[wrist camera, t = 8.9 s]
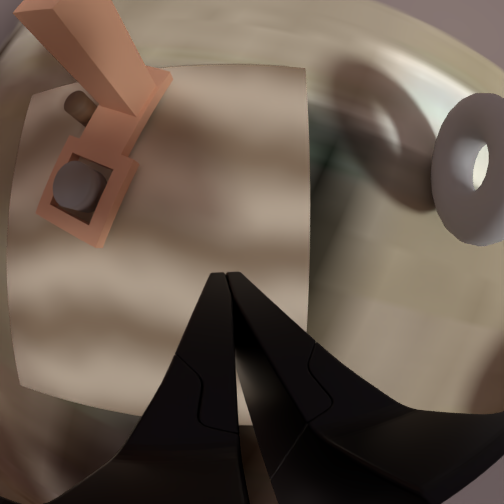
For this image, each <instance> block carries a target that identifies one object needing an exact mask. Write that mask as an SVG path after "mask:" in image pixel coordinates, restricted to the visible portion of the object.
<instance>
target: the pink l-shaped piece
mask: <svg viewBox="0 0 504 504" xmlns="http://www.w3.org/2000/svg"><path fill="white" fill-rule="evenodd" d="M13 14H14V15H15V16H16V17H17V18H18V19H19V20H20V21H21V23H22V24H23V25H24V26H25V27H26V28H27V29H28V30H29V31H30V32H31V33H32V34H33V35H34V36H35V37H36V38H37V39H38V40H39V42H40V43H41V44H42V45H43V46H44V47H45V48H46V49H47V50H48V51H49V52H50V53H51V54H52V55H53V56H54V57H55V58H56V59H57V60H58V62H59V63H60V64H61V65H62V66H63V67H64V68H65V69H66V70H67V71H68V72H69V73H70V74H71V75H72V76H73V77H74V78H75V79H76V80H77V81H78V82H79V84H80V85H81V86H82V87H83V88H84V89H85V90H86V91H87V92H88V93H89V94H90V95H91V96H92V97H93V98H94V99H95V100H96V101H97V102H98V103H99V105H98V107H97V108H96V110H95V112H94V113H93V115H92V117H91V119H90V120H89V122H88V124H87V126H86V128H85V129H84V131H83V133H82V135H81V137H80V139H79V138H76V137H74V136H71V135H69V137H68V139H67V141H66V143H65V145H64V147H63V149H62V151H61V153H60V155H59V157H58V159H57V161H56V164H55V166H54V168H53V170H52V172H51V175H50V177H49V179H48V182H47V184H46V186H45V189H44V191H43V194H42V196H41V199H40V201H39V204H38V207H37V209H36V212H35V214H37V215H39V216H40V217H42V218H44V219H45V220H47V221H49V222H51V223H52V224H54V225H56V226H57V227H59V228H61V229H63V230H64V231H66V232H68V233H70V234H71V235H73V236H75V237H77V238H78V239H80V240H82V241H84V242H86V243H87V244H89V245H91V246H93V247H95V248H103V246H104V244H105V241H106V238H107V236H108V233H109V231H110V229H111V226H112V224H113V221H114V219H115V217H116V214H117V212H118V210H119V207H120V205H121V203H122V201H123V198H124V196H125V194H126V192H127V190H128V188H129V185H130V183H131V181H132V179H133V177H134V175H135V173H136V171H137V169H138V167H139V165H140V164H139V163H138V162H136V161H135V160H134V159H131V158H129V157H128V156H129V154H130V152H131V151H132V149H133V147H134V145H135V143H136V141H137V139H138V137H139V136H140V134H141V132H142V130H143V128H144V127H145V125H146V123H147V121H148V120H149V118H150V116H151V114H152V113H153V111H154V109H155V108H156V106H157V104H158V103H159V101H160V100H161V98H162V96H163V95H164V93H165V92H166V90H167V88H168V87H169V85H170V84H171V82H172V81H173V77H172V75H171V73H170V72H169V71H166V70H162V69H158V68H153V67H149V66H145V64H144V62H143V60H142V58H141V56H140V55H139V53H138V51H137V49H136V47H135V45H134V43H133V41H132V39H131V37H130V35H129V33H128V31H127V30H126V28H125V26H124V24H123V22H122V20H121V18H120V16H119V14H118V12H117V10H116V8H115V6H114V4H113V2H112V0H23V2H22V3H21V4H20V5H19V6H18V7H17V9H16V10H15V11H14V12H13ZM79 157H81V158H84V159H86V160H88V161H91V162H93V163H96V164H98V165H100V166H103V167H105V168H108V169H110V170H112V171H113V172H112V174H111V176H110V178H109V180H108V182H107V184H106V187H105V189H104V191H103V193H102V195H101V198H100V200H99V202H98V205H97V207H96V209H95V212H94V214H93V217H92V219H91V221H90V223H88V222H86V221H84V220H82V219H80V218H78V217H77V216H75V215H73V214H71V213H69V212H67V211H65V210H64V209H62V208H60V207H58V205H59V204H58V203H57V202H56V200H55V198H54V195H53V182H54V179H55V176H56V174H57V172H58V171H59V170H60V168H61V167H62V166H63V165H65V164H66V163H68V162H70V161H78V159H79Z"/></svg>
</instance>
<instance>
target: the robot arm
mask: <svg viewBox="0 0 504 504" xmlns="http://www.w3.org/2000/svg"><path fill="white" fill-rule="evenodd" d="M315 342H316V341H315V340H314V339H313V338H312V337H311V336H310V335H309V334H308V333H306V332H305V331H304V330H303V329H302V328H301V327H300V326H299V325H298V324H297V323H295V322H294V321H293V320H292V319H291V318H290V317H289V316H288V315H287V314H286V313H285V312H283V311H282V310H281V309H280V308H279V307H278V306H277V305H276V304H275V303H274V302H273V301H271V300H270V299H269V298H268V297H267V296H266V295H265V294H264V293H263V292H262V291H261V290H260V289H258V288H257V287H256V286H255V285H254V284H253V283H252V282H251V281H250V280H249V279H248V278H247V277H246V276H244V275H243V274H242V273H241V272H239V271H237V272H227V273H226V274H225V273H224V272H212V273H210V275H209V277H208V279H207V281H206V283H205V286H204V288H203V290H202V292H201V295H200V297H199V299H198V301H197V303H196V306H195V308H194V310H193V313H192V315H191V317H190V319H189V322H188V324H187V326H186V328H185V331H184V333H183V335H182V338H181V340H180V342H179V345H178V347H177V349H176V352H175V355H174V356H173V358H172V361H171V363H170V365H169V367H168V370H167V372H166V374H165V376H164V378H163V380H162V382H161V384H160V386H159V388H158V389H157V391H156V393H155V395H154V396H153V398H152V400H151V402H150V403H149V405H148V406H147V408H146V410H145V411H144V413H143V415H142V416H141V418H140V419H139V421H138V423H137V424H136V426H135V428H134V429H133V431H132V433H131V434H130V436H129V437H128V439H127V440H126V442H125V444H124V445H123V446H122V448H121V449H120V450H119V451H118V453H117V454H116V455H115V456H114V457H113V458H112V459H111V460H109V461H108V462H107V463H106V464H104V465H103V466H102V467H100V468H99V469H97V470H96V471H95V472H93V473H92V474H91V475H89V476H88V477H86V478H85V479H83V480H82V481H81V482H79V483H78V484H76V485H75V486H73V487H72V488H71V489H69V490H68V491H66V492H65V493H63V494H62V495H60V496H59V497H57V498H56V499H54V500H52V501H50V502H48V503H44V504H250V502H249V497H248V492H247V487H246V482H245V476H244V471H243V465H242V459H241V450H240V437H239V420H238V402H237V382H236V370H237V374H238V377H239V381H240V384H241V388H242V391H243V395H244V398H245V401H246V405H247V408H248V411H249V415H250V418H251V421H252V424H253V428H254V431H255V434H256V437H257V440H258V444H259V447H260V450H261V453H262V456H263V459H264V462H265V465H266V468H267V471H268V474H269V477H270V479H271V483H272V486H273V489H274V492H275V495H276V498H277V501H278V503H279V504H504V411H503V412H500V413H495V414H463V413H448V412H435V411H425V410H417V409H413V408H410V407H407V406H404V405H402V404H400V403H398V402H397V401H395V400H393V399H392V398H390V397H389V396H387V395H386V394H384V393H383V392H381V391H380V390H379V389H377V388H376V387H374V386H373V385H371V384H370V383H368V382H367V381H366V380H364V379H363V378H361V377H360V376H358V375H357V374H356V373H354V372H353V371H352V370H350V369H349V368H348V367H346V366H345V365H344V364H342V363H341V362H340V361H339V360H337V359H336V358H335V357H334V356H333V355H331V354H330V353H329V352H328V351H327V350H326V349H324V348H323V347H322V346H321V345H320V344H319V343H318V342H316V343H315ZM0 504H20V503H17V502H14V501H12V500H9V499H6V498H4V497H1V496H0Z"/></svg>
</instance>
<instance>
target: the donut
mask: <svg viewBox="0 0 504 504" xmlns="http://www.w3.org/2000/svg"><path fill="white" fill-rule="evenodd" d="M486 144H487V147H488V151H489V164H488V168H487V173H486V176H485V178H484V180H483V182H482V184H481V186H480V187H479V188H478V189H477V190H476V191H475V189H474V186H473V169H474V164H475V160H476V158H477V155H478V153H479V151H480V150H481V148H482V147H483V146H484V145H486ZM431 186H432V195H433V199H434V203H435V207H436V210H437V213H438V215H439V217H440V219H441V220H442V222H443V224H444V226H445V227H446V229H447V230H448V231H449V232H450V233H452V234H453V235H454V236H455V237H456V238H457V239H459V240H460V241H462V242H464V243H467V244H472V245H476V246H487V245H491V244H494V243H497V242H500V241H502V240H504V98H502V97H501V96H499V95H496V94H491V93H475V94H473V95H470V96H468V97H466V98H464V99H462V100H461V101H460V102H458V104H457V105H456V106H455V107H454V108H453V109H452V110H451V111H450V112H449V113H448V115H447V117H446V118H445V120H444V122H443V124H442V125H441V128H440V131H439V133H438V136H437V139H436V142H435V147H434V152H433V156H432V166H431Z"/></svg>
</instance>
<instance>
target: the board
mask: <svg viewBox="0 0 504 504" xmlns="http://www.w3.org/2000/svg"><path fill="white" fill-rule="evenodd" d="M158 69H162V70H166V71H169V72H170V73H171V75H172V77H173V81H172V82H171V84H170V85H169V87H168V88H167V90H166V92H165V93H164V95H163V96H162V98H161V100H160V101H159V103H158V104H157V106H156V108H155V109H154V111H153V113H152V114H151V116H150V118H149V120H148V121H147V123H146V125H145V127H144V128H143V130H142V132H141V134H140V136H139V137H138V139H137V141H136V143H135V145H134V147H133V149H132V151H131V152H130V154H129V156H128V157H129V158H131V159H134V160H135V161H136V162H138V163H139V164H140V165H139V167H138V169H137V171H136V173H135V175H134V177H133V179H132V181H131V183H130V185H129V188H128V190H127V192H126V194H125V196H124V198H123V201H122V203H121V205H120V207H119V210H118V212H117V214H116V217H115V219H114V221H113V224H112V226H111V229H110V231H109V233H108V236H107V238H106V241H105V244H104V246H103V248H95V247H93V246H91V245H89V244H87V243H86V242H84V241H82V240H80V239H78V238H77V237H75V236H73V235H71V234H70V233H68V232H66V231H64V230H63V229H61V228H59V227H57V226H56V225H54V224H52V223H51V222H49V221H47V220H45V219H44V218H42V217H40V216H39V215H37V214H35V212H36V209H37V207H38V204H39V201H40V199H41V196H42V194H43V191H44V189H45V186H46V184H47V182H48V179H49V177H50V175H51V172H52V170H53V168H54V166H55V164H56V161H57V159H58V157H59V155H60V153H61V151H62V149H63V147H64V145H65V143H66V141H67V139H68V137H69V135H71V136H74V137H76V138H79V139H80V137H81V135H82V133H83V131H84V129H85V128H86V126H87V124H88V122H89V120H90V119H91V117H92V115H93V113H94V112H95V110H96V108H97V107H98V105H99V103H98V102H97V101H96V100H95V99H94V98H93V97H92V96H91V95H90V94H89V93H88V92H87V91H86V90H85V89H84V88H83V87H82V86H81V85H80V84H79V82H76V83H72V84H68V85H64V86H60V87H57V88H53V89H50V90H46V91H43V92H40V93H36V94H33V95H32V97H31V101H30V104H29V107H28V111H27V114H26V118H25V122H24V126H23V130H22V134H21V138H20V143H19V148H18V153H17V158H16V163H15V169H14V175H13V182H12V189H11V197H10V207H9V218H8V233H7V291H8V306H9V318H10V327H11V335H12V342H13V349H14V355H15V361H16V366H17V371H18V376H19V381H20V385H21V386H24V387H27V388H29V389H32V390H35V391H38V392H41V393H45V394H48V395H51V396H54V397H58V398H61V399H65V400H68V401H72V402H76V403H80V404H84V405H88V406H92V407H97V408H101V409H106V410H111V411H116V412H121V413H126V414H132V415H138V416H142V415H143V413H144V411H145V410H146V408H147V406H148V405H149V403H150V402H151V400H152V398H153V396H154V395H155V393H156V391H157V389H158V388H159V386H160V384H161V382H162V380H163V378H164V376H165V374H166V372H167V370H168V367H169V365H170V363H171V361H172V358H173V356H174V355H175V352H176V349H177V347H178V345H179V342H180V340H181V338H182V335H183V333H184V331H185V328H186V326H187V324H188V322H189V319H190V317H191V315H192V313H193V310H194V308H195V306H196V303H197V301H198V299H199V297H200V295H201V292H202V290H203V288H204V286H205V283H206V281H207V279H208V277H209V275H210V273H212V272H224V273H225V274H226V273H227V272H237V271H239V272H241V273H242V274H243V275H244V276H246V277H247V278H248V279H249V280H250V281H251V282H252V283H253V284H254V285H255V286H256V287H257V288H258V289H260V290H261V291H262V292H263V293H264V294H265V295H266V296H267V297H268V298H269V299H270V300H271V301H273V302H274V303H275V304H276V305H277V306H278V307H279V308H280V309H281V310H282V311H283V312H285V313H286V314H287V315H288V316H289V317H290V318H291V319H292V320H293V321H294V322H295V323H297V324H298V325H299V326H300V327H301V328H302V329H303V330H304V331H305V332H306V330H307V311H308V288H309V255H310V159H309V127H308V105H307V87H306V71H305V68H297V67H285V66H270V65H237V64H227V65H194V66H179V67H167V68H158ZM112 172H113V171H112V170H110V169H108V168H105V167H103V166H100V165H98V164H96V163H93V162H91V161H88V160H86V159H84V158H81V157H79V159H78V161H70V162H68V163H66V164H65V165H63V166H62V167H61V168H60V170H59V171H58V172H57V174H56V176H55V179H54V182H53V195H54V198H55V200H56V202H57V203H58V204H59V205H58V207H60V208H62V209H64V210H65V211H67V212H69V213H71V214H73V215H75V216H77V217H78V218H80V219H82V220H84V221H86V222H88V223H90V221H91V219H92V217H93V214H94V212H95V209H96V207H97V205H98V202H99V200H100V198H101V195H102V193H103V191H104V189H105V187H106V184H107V182H108V180H109V178H110V176H111V174H112ZM236 382H237V402H238V420H239V425H253V424H252V421H251V418H250V415H249V411H248V408H247V405H246V401H245V398H244V395H243V391H242V388H241V384H240V381H239V377H238V374H237V370H236Z"/></svg>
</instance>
